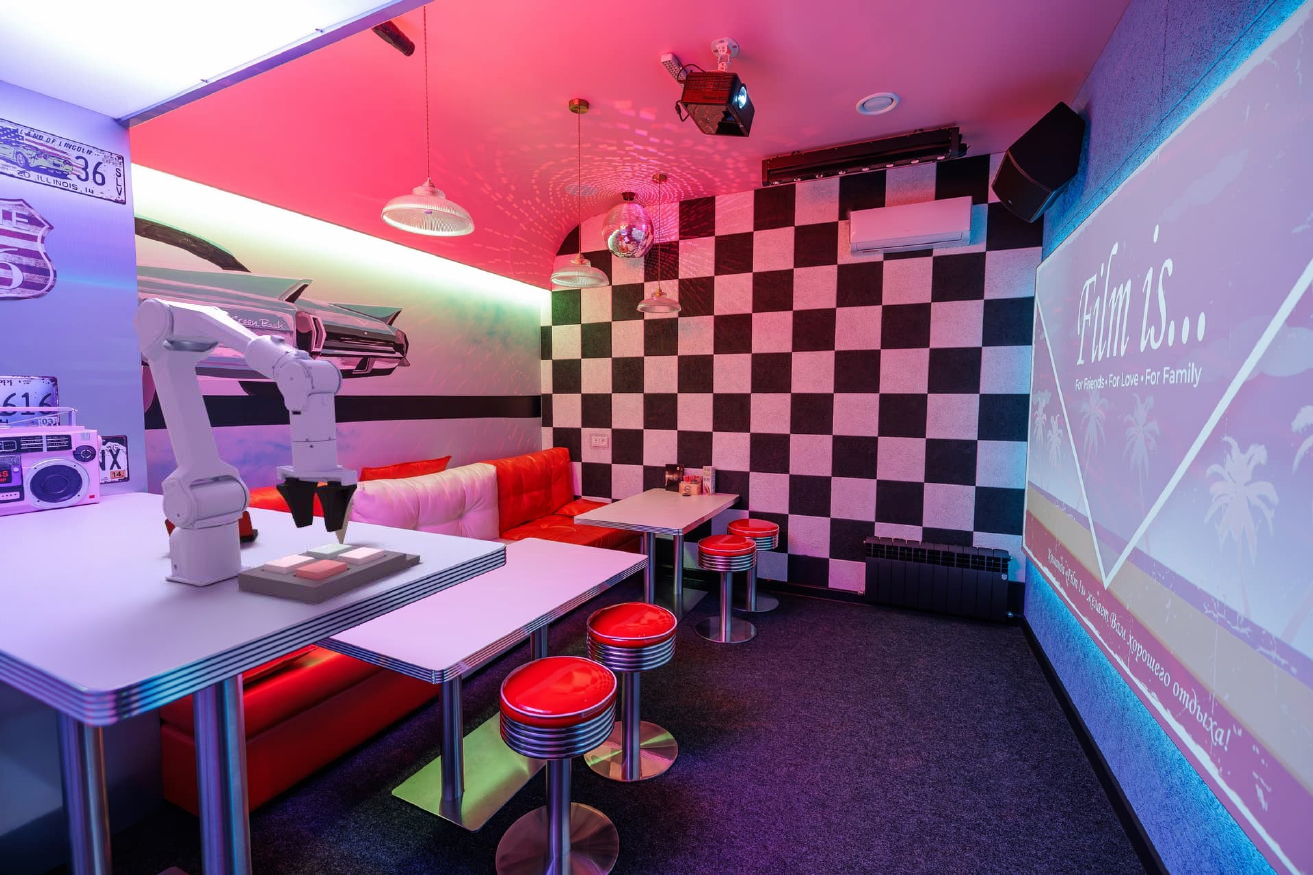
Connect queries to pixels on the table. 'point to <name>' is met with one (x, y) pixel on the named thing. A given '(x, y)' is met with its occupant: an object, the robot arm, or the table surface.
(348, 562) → the ivory key
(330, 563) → the coral key
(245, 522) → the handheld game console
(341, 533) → the ice cream cone
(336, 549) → the mint key
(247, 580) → the keypad frame
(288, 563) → the ivory key
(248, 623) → the table surface
